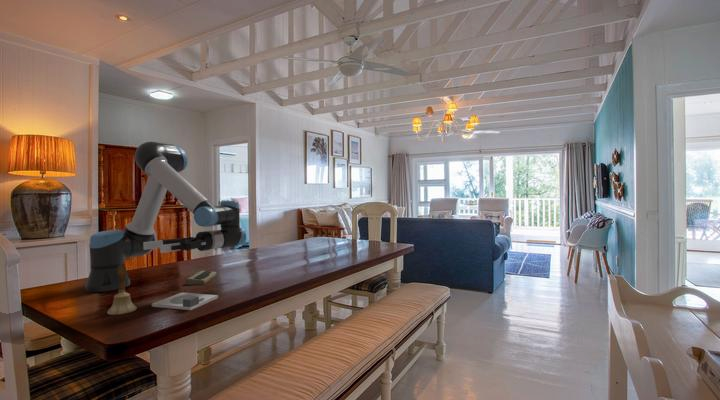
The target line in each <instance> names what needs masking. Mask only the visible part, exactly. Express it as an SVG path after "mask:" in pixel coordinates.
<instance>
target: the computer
mask: <svg viewBox="0 0 720 400" xmlns="http://www.w3.org/2000/svg"><path fill="white" fill-rule="evenodd" d="M217 275H218V273H217V271H213V270H212V271H209V270H200V271H198V272H196V273H195V274H192V275H191V276H190V277H187V278H186V279H185V286H188V285H189V286H191V285H193V286H194V285H205V284H207V283H208V282H209V281H211V280H213V279H214V278H215V277H217ZM212 278H213V279H212Z"/></svg>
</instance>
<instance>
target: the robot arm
mask: <svg viewBox="0 0 720 400" xmlns="http://www.w3.org/2000/svg"><path fill="white" fill-rule="evenodd" d="M134 159H135V160H134V161H135V163H136V165H137V167H138V168H139V169H140V170H141V171H142V172H143V173H144V174H146V176H148V178H147V180H146V183H145V185H144V188H143V191H142V194H141V196H140V199H139V202H138V204H137V208H136V209H135V213H134V215H133V218H132V221H131V222H129V223H126V226H125V228H124V230H123V229H110V230H103V231H99V232H98V231H97V232H95V233H93V234H92V235H91V236H90V238H89V257H90V258H89V259H90V260H89V263H90V270H89V275H88V278H87V281H86V283H85V292H87V293H88V292H90V293H102V292H111V291H116V290H119V280H118V276H117V271H118V267H119V264H120V263H124V264H125V262H126V261H125V259H129V258H135V257H141V256H144V255H148V254H149V253H151V252H152V251H153V250H155V249H159V253H160V254H164V253H170V252H171V253H172V252H180V251H191V250H195V249H197V250H198V251H200V252H205V251H210V250H214V251H217V250H218V249H224V248H233V247H238V246H241V245H244V244H245V242H246V241H247V234H246V230H245V229H244V228H243V227H241V225H240V221H241V220H240V218H241V217H240V210H241V209H240V205H239V204H240V203H239V201H238V200H222V201H220V205H214V204H213V203H212V202H211V201H210V200H209V199H207V198H206V197H205V196H204V195H203V194H202V192H200V191H199V190H198V189H196V188H195V187H194V186H193V185H192V184H191V183H190V182H189V181H187V180H186V179H185V178H184V177H183V175H181V174H180V173H181V172H183V171H185V169H186V167H187V166H188V156H187V153H186V151H185V150H184V149H183V148H182V147H180V146H178V145H174V144H168V143H162V142H157V141H145V142H144V143H141V144H140V145H139V146H138V147H136V149H135V152H134ZM167 191H168V192H169V193H170V194H171V195H172V196H173V197H174V198H175V199H177V201H179V202H180V203H181V204H183V206H184V207H185V208H187V210H189V211H190V212H191V213H192V214H193V219H194V223H196V225H197V226H199V227H203V228H204V227H214V226H220V229H214V230H213V229H212V230H208V231H207V230H206V231H199V232H197V233H196V235H195V237H193V236H188V237H181V238H180V237H179V238H168V239H167V238H165V239H164V238H162V239H161V240H160V239H159V240H157V238H156V237H157V236H156V231H155V229H154V225H155V222H156V220H157V217H158V214H159V212H160V210H161V207H162V204H163V202H164V199H165V197H166V195H167ZM130 285H131V279H130V277H129V274H128V273H127V274H126V279H125V288H128V287H129V286H130Z"/></svg>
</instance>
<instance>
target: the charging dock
mask: <svg viewBox="0 0 720 400" xmlns="http://www.w3.org/2000/svg"><path fill="white" fill-rule="evenodd" d="M218 298H219V295H217V294H206V293H205V294H204V293H193V292H180V293H177V294H175V295H172V296H169V297H166V298H163V299H161V300H158V301H155V302H153V303H151V307H153V308H162V309H175V310H184V311H185V310H186V311H193V310H194V309H196V308H199V307H202V306H203V305H206V304H208V303H211V302H212V301H214V300H217V299H218Z"/></svg>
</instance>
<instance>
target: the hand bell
mask: <svg viewBox="0 0 720 400" xmlns="http://www.w3.org/2000/svg"><path fill="white" fill-rule="evenodd" d="M124 263H125V262H124ZM124 263H120V264H119V267H118V271H117V276H118V280H119V289H118V293H116V294H115V295H114V296H113V302H112V305H111V307H110V308H109V309H108V310H107V312H106V314H107V315H109V316H115V315H117V316H118V315H125V314H128V313H132V312H134V311H136V310H137V309H138V308H137V305H135V304H134V303H133V302H132V300H131V299H132V298H131V294H130V293H128V292H126V287H125V279H126V274H128V272H127V271H128V270H127V267H126V265H125V264H124Z"/></svg>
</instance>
